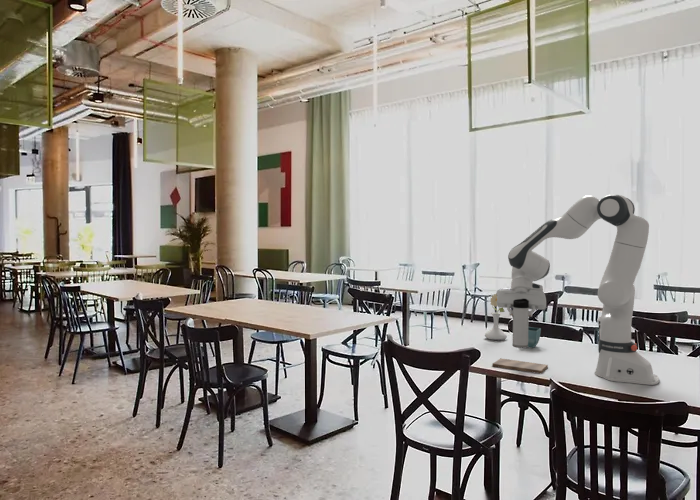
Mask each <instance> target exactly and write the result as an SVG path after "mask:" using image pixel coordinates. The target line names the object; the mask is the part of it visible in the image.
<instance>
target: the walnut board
mask: <svg viewBox="0 0 700 500" xmlns="http://www.w3.org/2000/svg"><path fill="white" fill-rule="evenodd" d="M491 365H492V367H494V368H501V369H508V370H514V371H521V372H528V373H533V372H535V373H534V374H540V373H541V374H543V373H544V372H545V371H546V370H547V369H548V367H549V364H546V363H545V364H544V363H537V362H530V361H521V360H515V359H507V358H502V357H501V358H499V359H497V360H496V361H495V362H493V363H492V364H491Z"/></svg>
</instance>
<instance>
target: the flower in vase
mask: <svg viewBox="0 0 700 500" xmlns="http://www.w3.org/2000/svg"><path fill="white" fill-rule="evenodd" d="M489 302H490V305H491V306H492V308H493V309H494V311H497V312H491V313H490V314H491V315H492V317H493V318H492V319H493V327H492V328H491V329H489V330H488V331H487V332H485V333H484V337H485V338H486V339H489V340H493V341H494V340H495V341H501V340H505V339H507V337H508V336H507V334H506V333H505V332H504V331H503V330H502V329H501V328H500V327H499V318H500V316H501V314H502V313H504V312H505V308H502V307H498V306H497V295H496V293H494V294H493V295H492V296H491V297H490V301H489ZM495 307H496V308H495ZM497 307H498V309H497Z"/></svg>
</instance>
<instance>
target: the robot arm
mask: <svg viewBox="0 0 700 500" xmlns="http://www.w3.org/2000/svg"><path fill="white" fill-rule="evenodd" d="M598 220H602V221H605V222H607V223H609V224H611V225H612V226H614V227H616V235H615V239H614V241H613V246H612V249H611V252H610V253H611V254H610V257H609V259H608V263H607V265H606V267H605V269H604V272H603V275H602V278H601V280H600V284H599V286H598V289H597V298H598V300H599V301H600V302H601V303H602V304H603V305H602V309H601V315H600V316H601V320H600V339H599V338H598V342H597V343H598V346H597V350H598V358H597V359H598V360H597V364H596V368H595V370H594V374H595V375H596V376H598V377H601V378H604V379H606V380H608V381H611V382H619V383H628V384H641V385H650V386H655V385H658V384H659V383H660V377H659V376H658V375H656V374H654V371H653V370H654V369H653V367H652V364H651V362H650V361H649V360H647V358H645V357H644V356H643V355H641V354H640V353H639V352H637V351H638V345H637V343H636V342H633V341H632V323H633V322H632V321H633V313H634V304H635V293H636V290H635V289H636V288H635V286H634V283H635V280H636V278H637V275H638V273H639V270H640V268H641V265H642V261H643V259H644V256H645V255H644V254H645V251H646V249H647V244H648V240H649V235H650V234H649V233H650V224H649V222H648V220H647V219H645V218H644V217H642V216H637V215H635V205H634V203H633V201H632V200H631V199H629V198H628V197H626V196H624V195H621V194H614V193H613V194H607V195H605V196H603V197H602V198H601V199H599V198H597V197H596V196H593V195H590V194H589V195H585V196H582V197H581V198H580V199H578V200H577V201H576V202H574V204H573V205H572V206H571V207H570V208H568V210H567V211H566V212H565V213H564V214H562V215H561V216H559V217H557V218H555V219H549V220H547V221H546V222H545V223H543V224H542V225H541V226H539V227H538V228H537V229H536V230H535V231H533V232H532V233H531V234H529V236H528V237H526V238H524V240H523V241H521V242H520V243H519V244H517V245H515V246H513V247H512V248H511V250H510V251H509V253H508V255H507V258H508V262H509V265H510V267H511V283H510V288H504V287H503V288H502V287H501V288H499V289H497V290H496V292H495V294H496V295H497V307H498V308H499V307H500V308H503V309H505V308H506V310H507V311H508V313H509V316H512V317H513V301H514V300H517V299H527V300H529V305H528V306H529V317H530V318H531V317H533V314H534V313H535V311H536V310H542V311H543V310H545V309H547V297H546V294H545V291H544V287H543V285H542V284H538V283H534V282H537V281H539V280H542V279H544V278H545V277H547V276H548V275H549V273H550V270H551V269H550V266H551V265H550V260H549V259H547V258H546V257H544V256H542V255H540V254H538V253H537V252H535V251H533V250H534V249H535V248H537V247H538V246H539V245H540V244H541V243H542V242H544V241H545V240H547V239H550V238H559V239H565V240H575V239H579V238H580V237H582V236H583V235H584V234H586V232H587V231H588V230H589V229H590V228H591V227H592V226H593V225H594V224H595V223H596V222H597V221H598Z"/></svg>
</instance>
